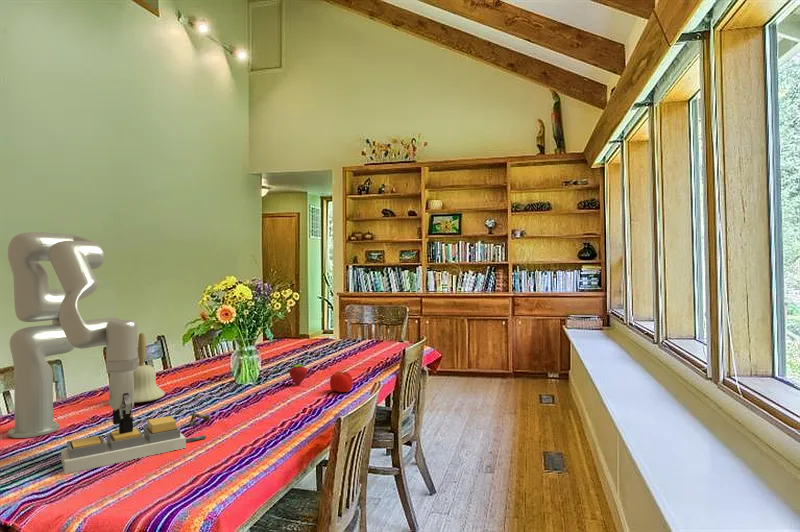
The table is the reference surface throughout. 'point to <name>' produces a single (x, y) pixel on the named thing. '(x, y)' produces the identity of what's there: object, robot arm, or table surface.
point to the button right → (161, 424)
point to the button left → (85, 442)
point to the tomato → (341, 382)
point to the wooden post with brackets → (206, 417)
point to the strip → (122, 449)
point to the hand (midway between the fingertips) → (122, 427)
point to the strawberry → (298, 373)
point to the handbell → (145, 377)
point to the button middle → (124, 435)
